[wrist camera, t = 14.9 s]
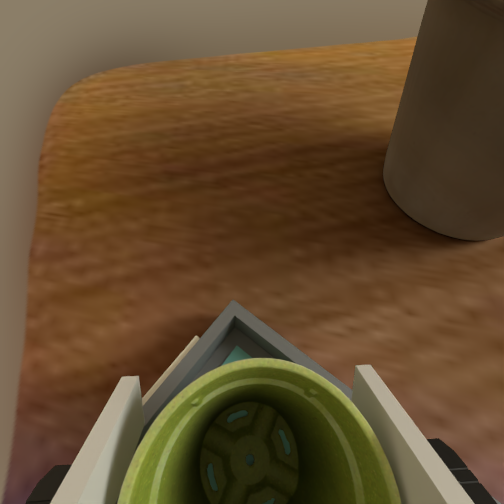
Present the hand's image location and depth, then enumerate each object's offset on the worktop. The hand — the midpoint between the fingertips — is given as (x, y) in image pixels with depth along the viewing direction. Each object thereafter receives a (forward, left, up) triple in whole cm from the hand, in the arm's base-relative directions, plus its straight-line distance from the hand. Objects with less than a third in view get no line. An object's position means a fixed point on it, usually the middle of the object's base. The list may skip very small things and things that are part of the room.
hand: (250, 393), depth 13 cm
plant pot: (+2, +2, -6) cm, 7 cm away
